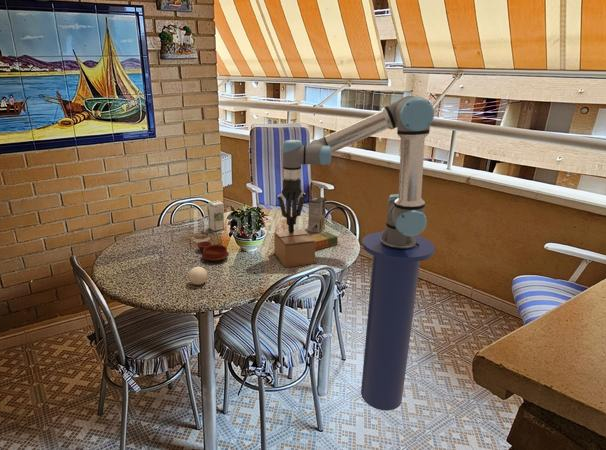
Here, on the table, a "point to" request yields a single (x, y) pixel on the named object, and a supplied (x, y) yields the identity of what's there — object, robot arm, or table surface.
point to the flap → (287, 233)
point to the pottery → (213, 251)
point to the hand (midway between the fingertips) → (291, 231)
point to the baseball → (198, 275)
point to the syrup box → (216, 215)
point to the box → (295, 250)
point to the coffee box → (316, 214)
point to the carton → (324, 240)
